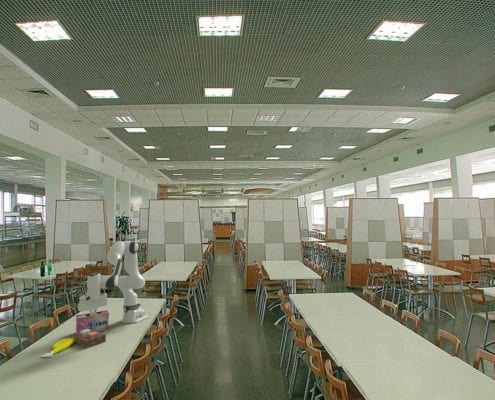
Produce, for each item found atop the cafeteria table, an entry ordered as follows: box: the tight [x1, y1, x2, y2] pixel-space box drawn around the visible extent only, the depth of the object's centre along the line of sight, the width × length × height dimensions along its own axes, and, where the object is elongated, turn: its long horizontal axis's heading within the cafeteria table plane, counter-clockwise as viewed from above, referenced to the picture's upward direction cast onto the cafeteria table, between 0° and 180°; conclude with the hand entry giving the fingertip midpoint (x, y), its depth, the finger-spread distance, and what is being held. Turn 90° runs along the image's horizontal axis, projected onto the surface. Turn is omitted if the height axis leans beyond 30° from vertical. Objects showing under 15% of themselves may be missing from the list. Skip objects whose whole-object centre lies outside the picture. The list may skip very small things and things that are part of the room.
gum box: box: [75, 310, 110, 334], centre depth 246 cm, size 24×8×14 cm, turn 124°
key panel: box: [71, 329, 107, 349], centre depth 224 cm, size 14×20×5 cm
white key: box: [80, 329, 91, 335], centre depth 227 cm, size 5×5×4 cm
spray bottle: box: [39, 337, 75, 358], centre depth 211 cm, size 3×11×24 cm
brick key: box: [87, 331, 98, 338], centre depth 221 cm, size 5×5×4 cm
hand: (93, 314), depth 222 cm, fingers closed
